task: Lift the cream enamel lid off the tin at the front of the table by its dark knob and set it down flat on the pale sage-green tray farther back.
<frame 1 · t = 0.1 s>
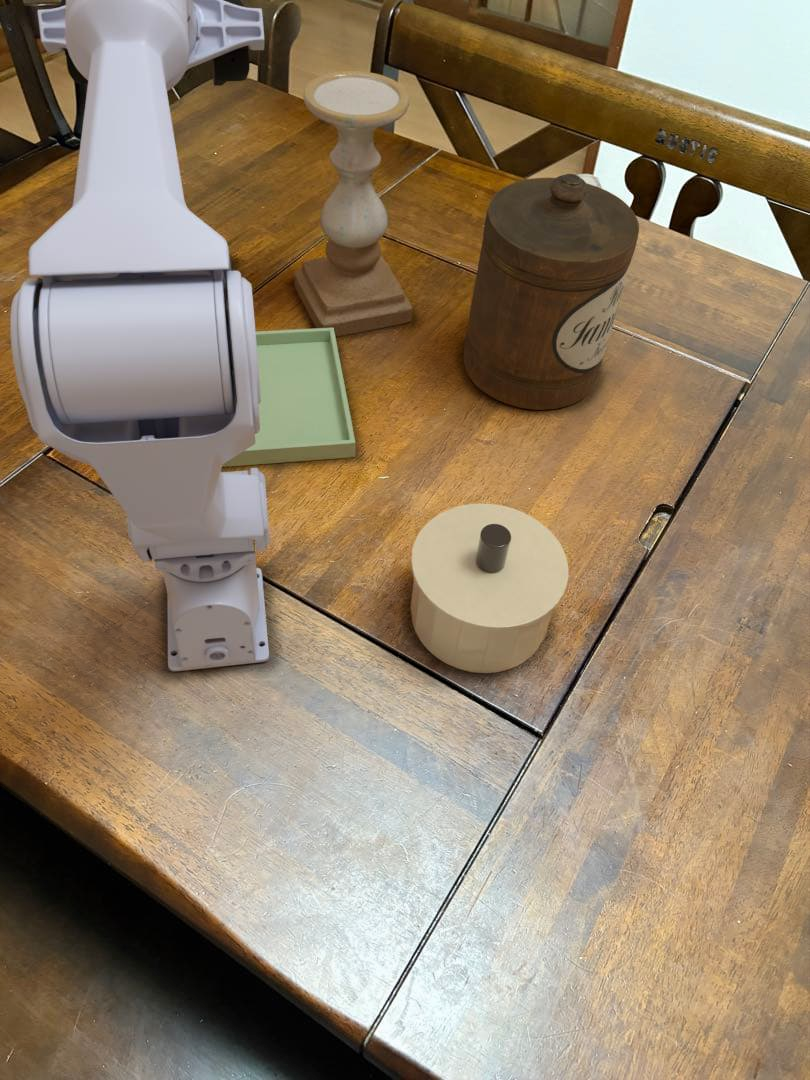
hand: (166, 72, 70), 32 cm above the table, tool tilted 50°, fingers open, 7 cm apart
tray: (266, 401, 94), on the table
tin: (478, 615, 78), on the table
watch: (568, 264, 114), on the table
lid: (489, 565, 73), point 7 cm above the table, touching tin
wooden container: (530, 367, 101), on the table
phone: (166, 280, 106), on the table
candle holder: (352, 303, 106), on the table
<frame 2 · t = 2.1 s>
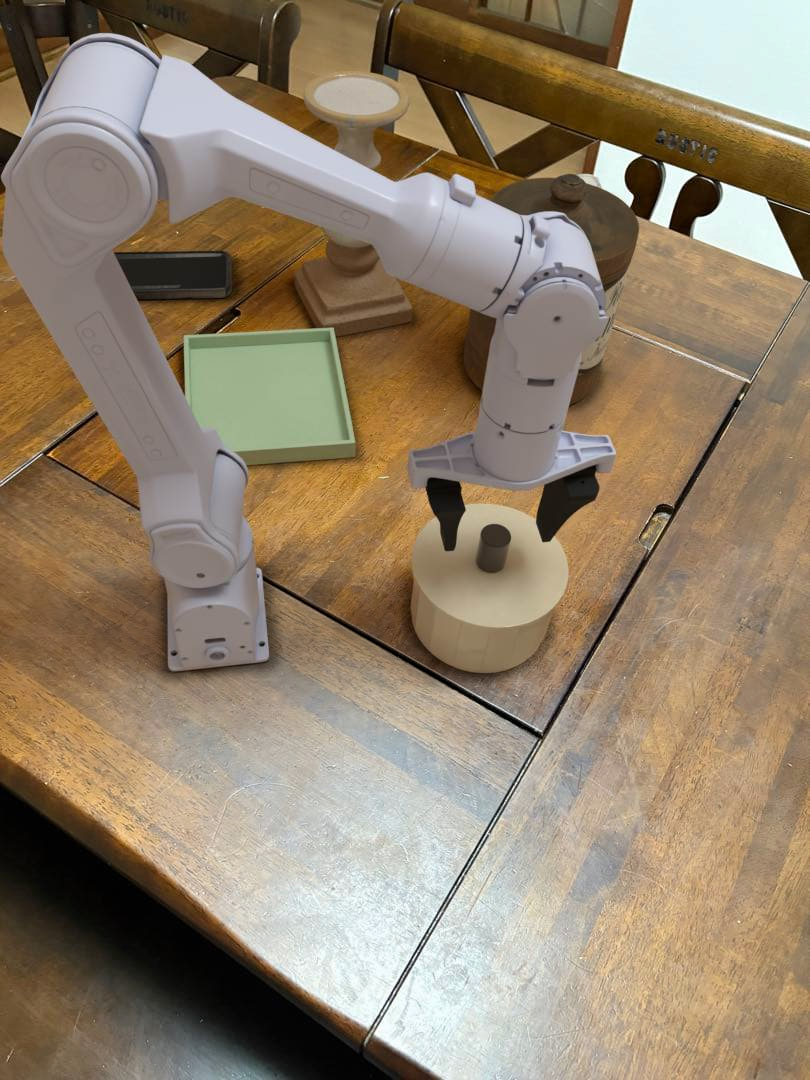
hand: (495, 536, 71), 10 cm above the table, tool pointing down, fingers open, 7 cm apart
nothing on the table moved.
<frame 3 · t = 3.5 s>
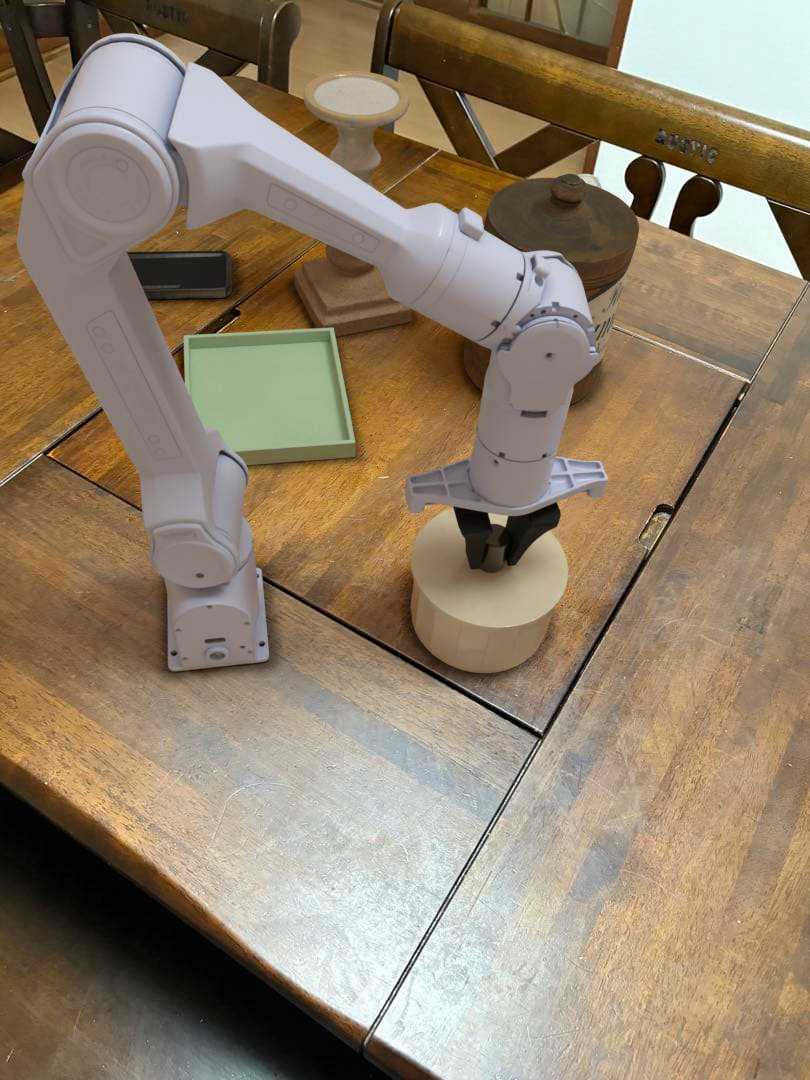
hand: (491, 557, 72), 8 cm above the table, tool pointing down, fingers closed on lid, 2 cm apart
lid: (489, 565, 73), point 7 cm above the table, touching gripper, tin
everything else where it was.
when the fingers open (2 cm above the table, at t = 9.4 s): lid stays where it is, resting on tray.
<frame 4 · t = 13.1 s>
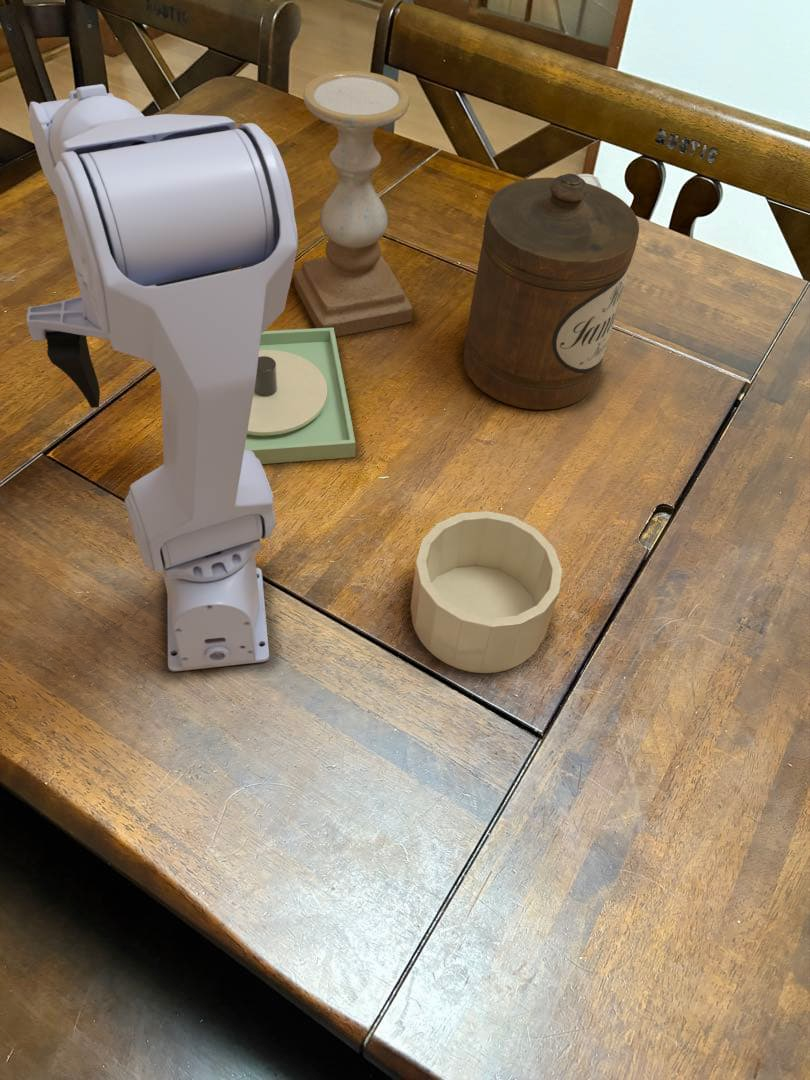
hand: (141, 397, 80), 9 cm above the table, tool pointing down, fingers open, 7 cm apart
lid: (265, 392, 93), point 1 cm above the table, touching tray
everything else where it was.
at the end: lid inside the target area in the tray (0.0 cm from its centre), point 1.1 cm above the tray's base; lid tilted 0°; the gripper is holding nothing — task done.
